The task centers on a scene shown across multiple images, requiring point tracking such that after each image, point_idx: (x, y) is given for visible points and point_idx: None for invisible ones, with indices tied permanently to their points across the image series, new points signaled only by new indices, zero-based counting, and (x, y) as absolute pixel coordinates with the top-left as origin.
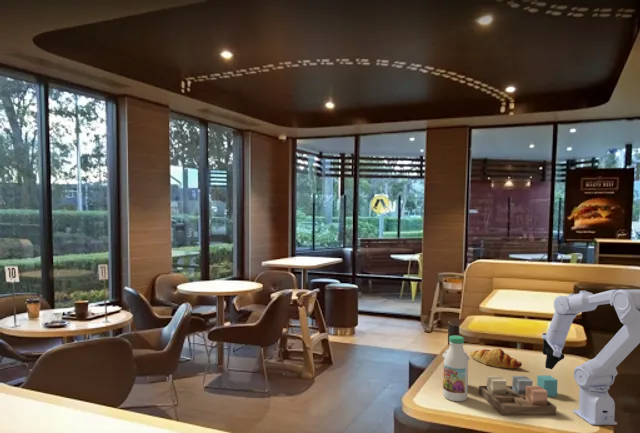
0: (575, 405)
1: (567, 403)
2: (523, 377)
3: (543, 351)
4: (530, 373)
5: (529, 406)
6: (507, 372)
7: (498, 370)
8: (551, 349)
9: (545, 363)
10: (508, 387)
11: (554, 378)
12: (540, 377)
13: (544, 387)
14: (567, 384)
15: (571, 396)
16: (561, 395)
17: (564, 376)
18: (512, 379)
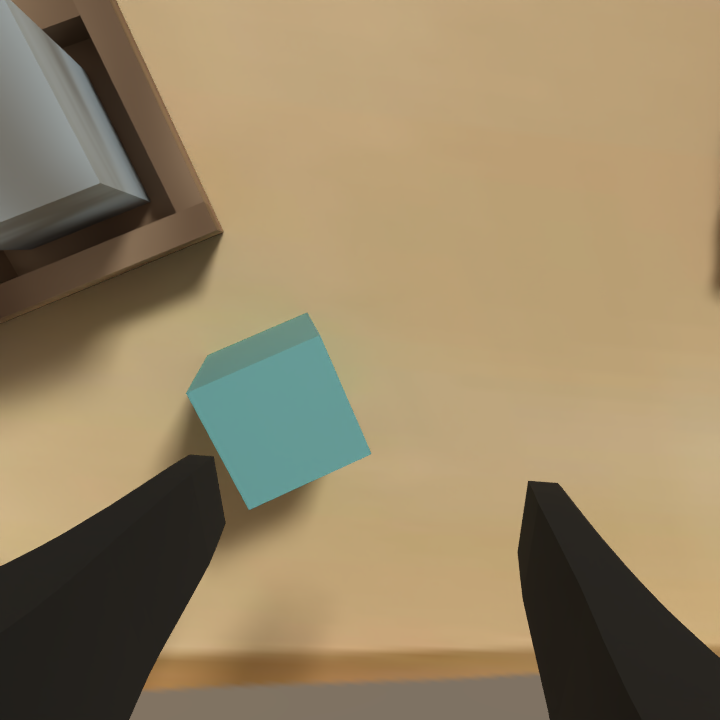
0: None
1: None
2: (16, 146)
3: (538, 512)
4: (692, 302)
5: None
6: (677, 115)
7: (710, 36)
8: (547, 668)
9: (178, 479)
10: (59, 11)
11: (293, 487)
12: (261, 360)
13: (197, 375)
14: None
15: (297, 536)
16: None
17: (680, 519)
18: (24, 13)
